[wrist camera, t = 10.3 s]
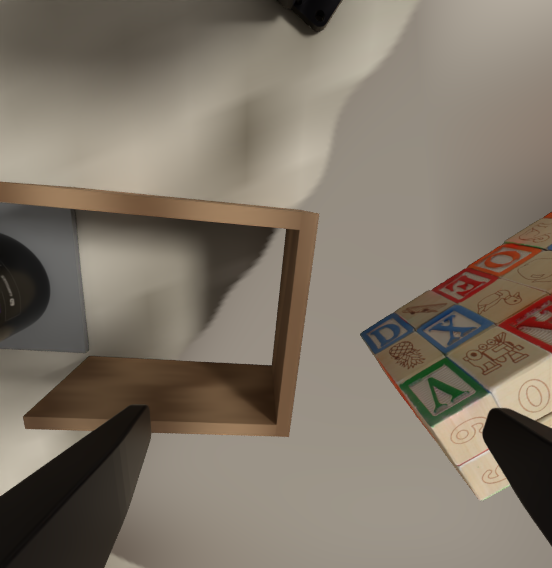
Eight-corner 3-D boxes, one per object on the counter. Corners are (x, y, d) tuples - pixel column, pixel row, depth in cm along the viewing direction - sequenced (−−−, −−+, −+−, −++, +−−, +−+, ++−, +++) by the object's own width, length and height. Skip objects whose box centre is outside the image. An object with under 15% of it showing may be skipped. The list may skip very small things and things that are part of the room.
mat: (74, 209, 18) (70, 209, 17) (88, 350, 20) (85, 353, 20) (-101, 192, 17) (-110, 192, 16) (-61, 342, 19) (-68, 345, 19)
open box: (300, 210, 18) (319, 213, 13) (281, 375, 22) (288, 436, 16) (72, 187, 17) (-23, 179, 11) (90, 365, 21) (25, 428, 15)
